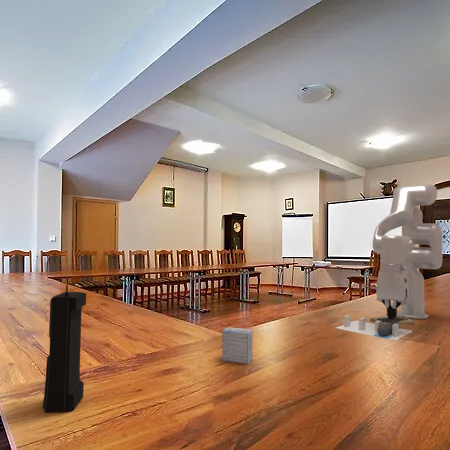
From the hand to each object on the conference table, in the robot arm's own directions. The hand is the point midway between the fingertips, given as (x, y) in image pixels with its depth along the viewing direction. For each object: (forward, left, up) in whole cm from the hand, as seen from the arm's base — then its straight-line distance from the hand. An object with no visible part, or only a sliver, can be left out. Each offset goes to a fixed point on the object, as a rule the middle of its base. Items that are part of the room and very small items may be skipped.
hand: (391, 318), depth 128 cm
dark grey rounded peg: (+3, 0, -5) cm, 5 cm away
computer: (-16, -6, -7) cm, 18 cm away
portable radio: (+107, -27, -6) cm, 110 cm away
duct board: (+2, -6, -6) cm, 8 cm away
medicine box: (+62, -20, -6) cm, 65 cm away
